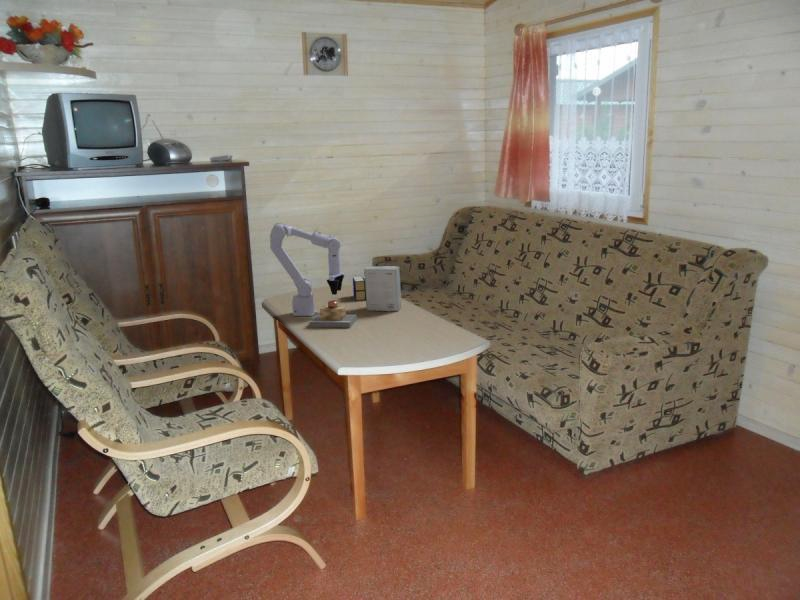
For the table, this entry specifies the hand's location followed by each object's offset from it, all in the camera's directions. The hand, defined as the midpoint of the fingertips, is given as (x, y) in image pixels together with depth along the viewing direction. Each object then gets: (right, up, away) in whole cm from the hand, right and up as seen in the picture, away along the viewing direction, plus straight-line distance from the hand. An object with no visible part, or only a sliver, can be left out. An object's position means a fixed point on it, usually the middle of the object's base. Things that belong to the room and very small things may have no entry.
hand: (336, 292), depth 301 cm
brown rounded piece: (0, -7, -18) cm, 19 cm away
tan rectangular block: (0, -12, -17) cm, 20 cm away
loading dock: (0, -14, -16) cm, 21 cm away
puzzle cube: (+12, -3, +27) cm, 30 cm away
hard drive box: (+22, -8, +5) cm, 24 cm away
